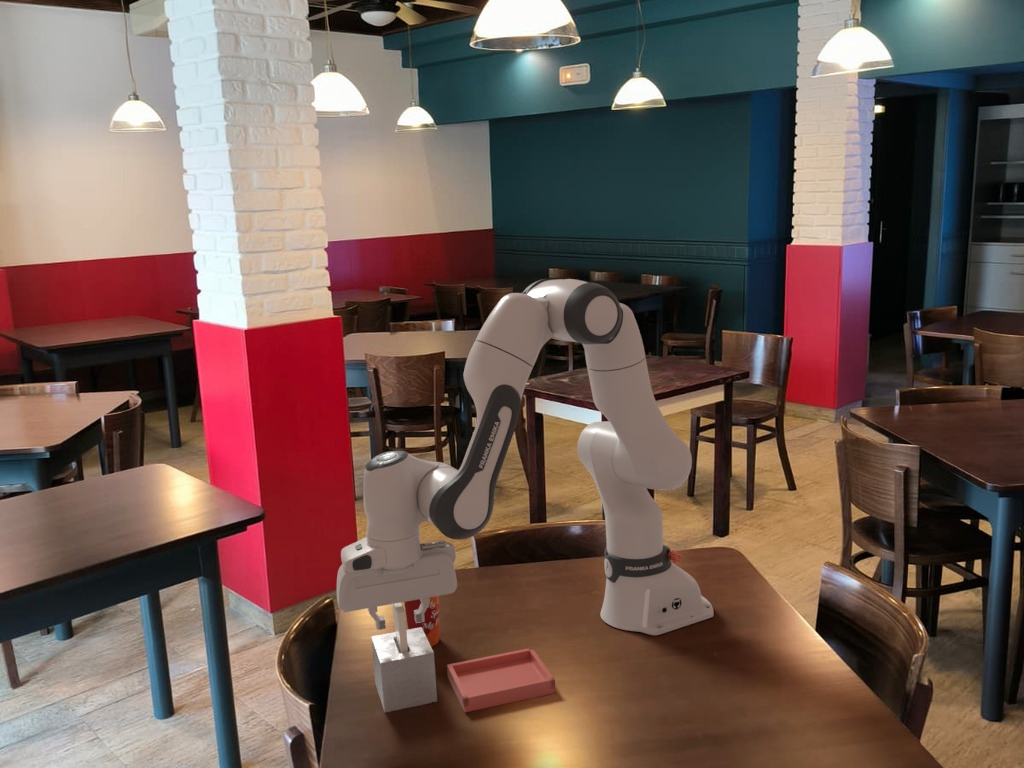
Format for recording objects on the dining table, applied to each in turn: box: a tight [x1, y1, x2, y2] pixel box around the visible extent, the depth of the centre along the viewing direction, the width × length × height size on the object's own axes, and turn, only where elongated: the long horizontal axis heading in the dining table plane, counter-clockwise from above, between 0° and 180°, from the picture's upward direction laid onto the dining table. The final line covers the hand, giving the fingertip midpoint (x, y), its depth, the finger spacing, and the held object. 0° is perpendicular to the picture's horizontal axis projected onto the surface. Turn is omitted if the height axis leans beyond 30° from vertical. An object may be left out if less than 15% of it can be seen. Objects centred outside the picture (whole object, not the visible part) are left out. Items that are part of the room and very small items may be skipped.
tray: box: [446, 647, 556, 713], centre depth 155 cm, size 16×12×2 cm
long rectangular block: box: [392, 602, 408, 653], centre depth 152 cm, size 1×5×12 cm, turn 17°
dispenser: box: [370, 627, 438, 713], centre depth 153 cm, size 9×10×9 cm
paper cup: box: [403, 596, 440, 648], centre depth 171 cm, size 8×8×14 cm
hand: (400, 624), depth 152 cm, fingers open, 5 cm apart
